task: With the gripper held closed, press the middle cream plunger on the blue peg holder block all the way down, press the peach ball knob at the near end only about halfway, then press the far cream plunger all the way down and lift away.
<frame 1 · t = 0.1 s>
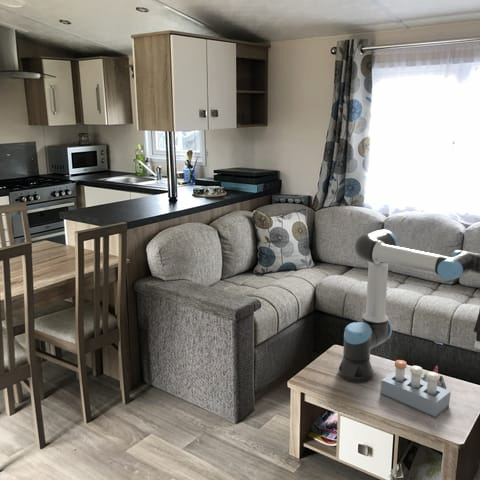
peach ball knob: (400, 372, 209), point 10 cm above the table, slide at 0.0 cm
plunger cream b: (432, 384, 200), point 10 cm above the table, slide at 0.0 cm
plunger cream a: (415, 378, 205), point 10 cm above the table, slide at 0.0 cm
brake caliper: (433, 389, 216), on the table
blue peg holder block: (413, 400, 207), on the table
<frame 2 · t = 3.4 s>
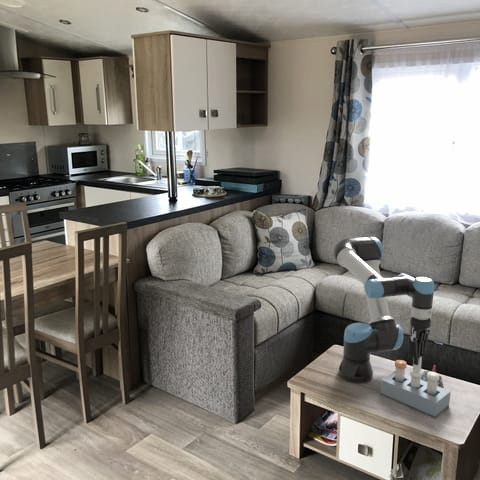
hand: (416, 371, 204), 14 cm above the table, fingers closed
plunger cream a: (415, 381, 205), point 9 cm above the table, slide at 1.4 cm, touching gripper
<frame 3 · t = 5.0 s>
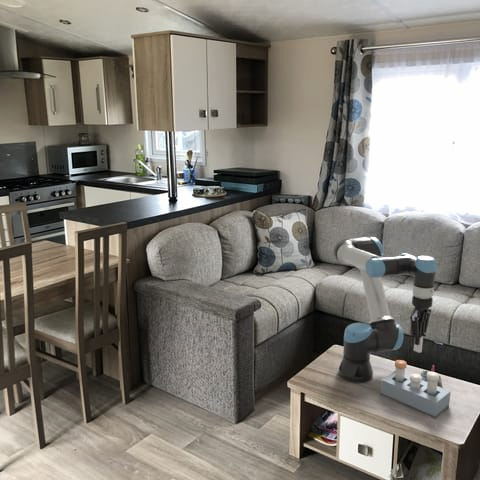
hand: (417, 351, 202), 22 cm above the table, fingers closed
plunger cream a: (415, 386, 205), point 7 cm above the table, slide at 3.6 cm
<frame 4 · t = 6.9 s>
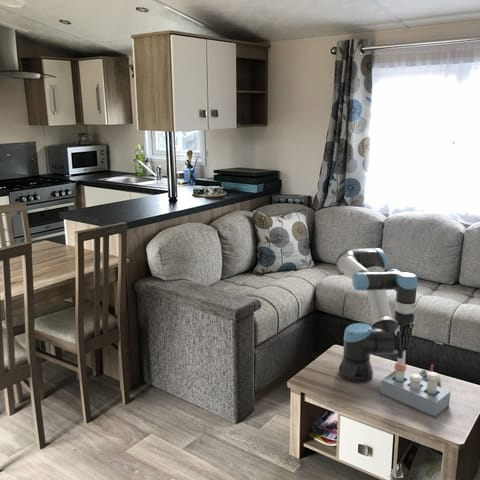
hand: (400, 364, 209), 14 cm above the table, fingers closed
peach ball knob: (399, 374, 210), point 9 cm above the table, slide at 1.1 cm, touching gripper
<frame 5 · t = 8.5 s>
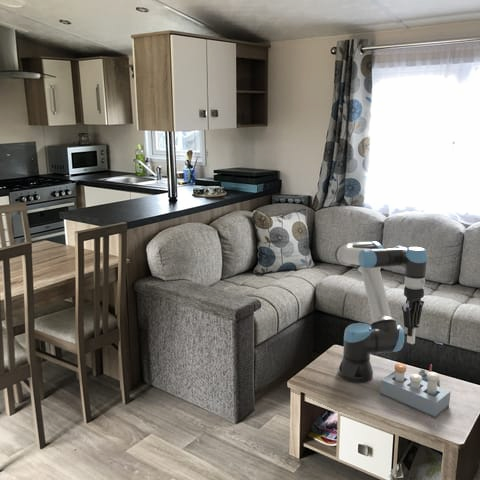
hand: (410, 342, 203), 25 cm above the table, fingers closed
peach ball knob: (399, 375, 210), point 9 cm above the table, slide at 1.7 cm
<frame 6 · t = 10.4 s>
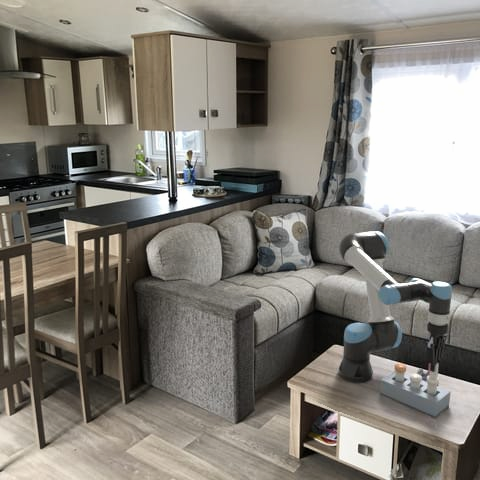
hand: (433, 377, 199), 13 cm above the table, fingers closed
plunger cream b: (431, 388, 200), point 9 cm above the table, slide at 1.6 cm, touching gripper
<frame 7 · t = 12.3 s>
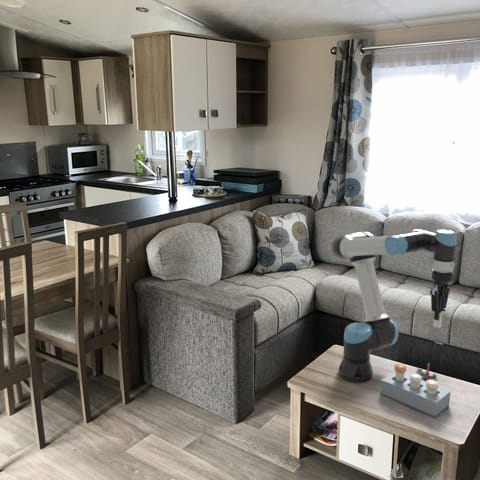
hand: (437, 326, 201), 32 cm above the table, fingers closed
plunger cream b: (431, 392, 200), point 7 cm above the table, slide at 3.6 cm
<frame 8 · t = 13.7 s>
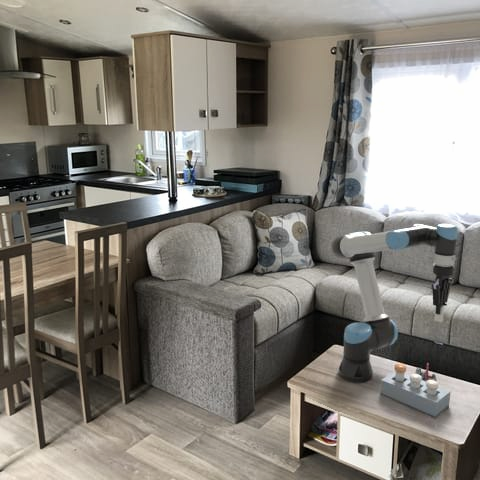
hand: (438, 320, 201), 34 cm above the table, fingers closed
at the end: plunger cream a slide at 3.6 cm; plunger cream b slide at 3.6 cm; peach ball knob slide at 1.7 cm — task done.
